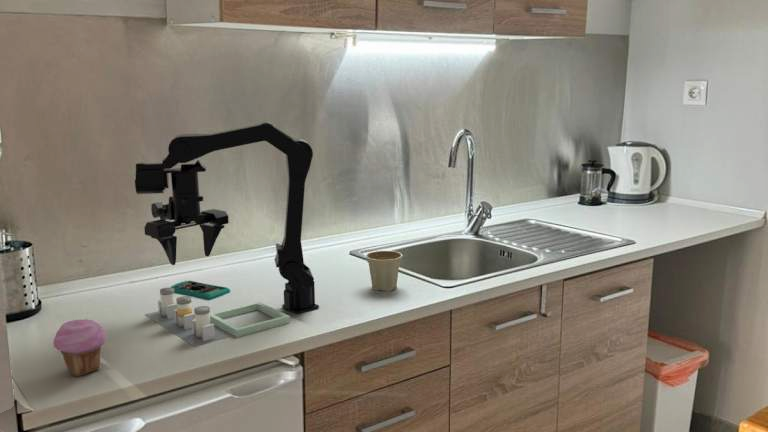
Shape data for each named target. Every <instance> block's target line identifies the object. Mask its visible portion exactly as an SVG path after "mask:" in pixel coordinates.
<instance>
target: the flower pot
mask: <svg viewBox="0 0 768 432" xmlns="http://www.w3.org/2000/svg"><path fill="white" fill-rule="evenodd" d="M365 258H366V261H367V263H368V267H369V275H370V280H371V287H372V289H374V290H376V291H379V290H380V291H383V292H387V291H392V290H395V289H396V288H397V286H398V278H399V269H400V263H401V261H402V258H403V254H402V253H401V252H399V251H394V250H375V251H371V252H368V253H366V254H365Z"/></svg>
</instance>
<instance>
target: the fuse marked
mask: <svg viewBox="0 0 768 432" xmlns="http://www.w3.org/2000/svg"><path fill="white" fill-rule="evenodd" d="M175 299H176V300H175V303H177V316H178V327H181V328H184V318H183V315H187V314H191V313H193V305H192V296H190V295H187V296H184V295H183V296H178V297H177V298H175Z"/></svg>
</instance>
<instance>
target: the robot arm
mask: <svg viewBox="0 0 768 432" xmlns="http://www.w3.org/2000/svg"><path fill="white" fill-rule="evenodd" d="M260 142H266V143H268V144H270V145H271V146H273V147H274V148H275V149H277V150H279V151H280V152H281V153H283V154H284V155H285V156H284V158H285V165H286V172H287V189H286V190H287V192H286V193H287V194H286V204H285V219H284V220H285V221H284V223H285V224H284V232H283V233H284V235H283V239H282V241H281V243H275V248H276V249H275V250H276V251H275V252H276V255H275V257H274V263H275V267H276V268H277V269H278V271H279V274H280V276H281V277H282V278H283V279H285V280H287V282H285V283H284V290H283V303H282V304H281V307H282V308H283V309H285V310H288V311H290V312H293V313H295V314H300V313H303V312H307V311H312V310H316V309H318V308H320V305H319V304H317V303H316V298H315V297H316V295H315V292H316V289H315V287H316V286H315V278H314V276H313V274H312V271H311V269H310V267H309V266H307V265H306V264H305V261H304V254H303V247H302V246H303V245H302V231H303V230H302V227H303V214H304V201H305V190H306V189H305V187H306V180H307V177H308V173H309V171H310V169H311V164H312V160H313V155H314V152H313V149H312V147H311V145H310V144H309V143H308V142H307V141H306V140H304V139H302V138H299V137H298V138H297V137H295V138H293V137H291V136H290V135H289V134H287V133H285V132H284V131H282V130H280V129H279V128H278V127H276V126H274V125H273V123H271V122H269V121H262V122H261V123H257V124H252V125H248V126H243V127H237V128H233V129H228V130H224V131H217V132H213V133H180V134H178V135H176V136H174V137H173V138H172V140H171V141H170V143H169V144H168V148H167V150H168V154H167V156H166V157H164V158H163V159H162V162H151V163H150V162H149V163H148V162H137V163H136V164H135V179H134V185H135V186H134V187H135V192H136V194H137V195H151V194H164V193H165V191H166V189H169V188H170V182H169V181H170V180H169V179H170V178H171V190H172V191H171V193H172V195H171V196H169V198H168V203H167V204H163V202H162V201H159V202H153V203H152V204H151V205H150V207H151V209H150V210H151V215H152V218H154V219H156V220H151V221H147V222H146V224H145V225H144V236H148V237H150V238H151V239H155V240H157V241H158V242H159V244H160V245H161V247H162V248H163V250H164V253H165V255H166V256H167V259H168V261H169V264H170V265H172V266H175V265H176V262H177V246H178V245H177V244H178V243H177V239H178V238H177V237H178V236H176V235H175V233H176V230H181V229H182V230H183V229H186V228H190V227H195V226H199V227H200V229H201V232H202V237H203V239H202V240H203V251H204V256H205V257H210V255H211V252H212V250H213V248H214V246H215V243H216V241H217V238H218V237H219V236H220V235H219V234H220V233H221V231H222V229H224V228H225V226H226V225H227V224H229V223H230V221H229V215H228V213H227V211H226V210H220V209H215V208H212V209H211V208H210V209H207V210H206V209H205V210H202V211H201V202H204V196H203V195H200V188H199V187H200V186H199V173H204V172H205V173H206V170H207V166H205V165H204V164H203V163H201V161H200V159H199V158H201V157H203V156H205V155H206V156H207V155H208V154H210V153H213V152H216V151H222V150H225V149H231V148H235V147H241V146H245V145H250V144H255V143H260ZM196 159H197V160H196ZM194 160H196V162H194V163H189V162H192V161H194ZM178 164H180V168H174V167H175V166H177V165H178ZM169 174H170V176H171V177H169ZM157 218H159V219H157Z"/></svg>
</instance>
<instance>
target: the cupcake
mask: <svg viewBox="0 0 768 432" xmlns="http://www.w3.org/2000/svg"><path fill="white" fill-rule="evenodd" d="M105 332H106V331H105V329H104V327H103V326H102V325H101V324H100V323H99V322H96V321H94V320H92V319H88V318H83V319H73V320H69V321H67V322H65V323H63V324H61V326H60V327H59V329H58V331H56V333H55V336H54V337H53V347H54V348H55V349H56V350H57V351H59V352H60V353H61V354H62V356H63V359H64V363H65V365H66V369H68V371H69V372H70V373H71V374H73V375H74V376H76V377H78V376H83V375H86V374H88V373H91V372H96V371H97V370H99V369H100V367H101V349H102V346H104V343H105V341H106V339H107V338H106V337H107V335H106V333H105Z"/></svg>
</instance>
